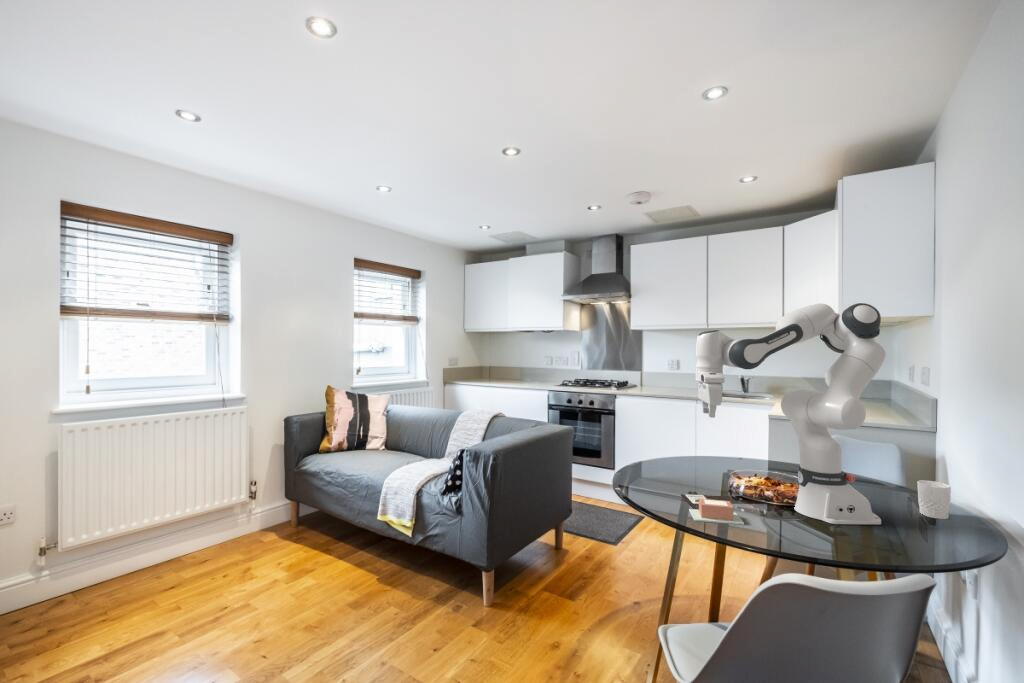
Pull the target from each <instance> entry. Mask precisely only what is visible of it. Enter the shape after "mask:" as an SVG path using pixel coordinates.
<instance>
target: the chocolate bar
mask: <svg viewBox="0 0 1024 683" xmlns="http://www.w3.org/2000/svg"><path fill="white" fill-rule="evenodd" d="M681 496H682V497H683V498H684V499H685V500H686V501H685V500H684V499H683V498H682V497H681ZM680 497H681V498H682V499H683V500H684V501H685V502H686V504H687V505H688V506H689V505H690V506H691V507H692V508H693V509H697V510H699V498H700V499H711V498H710V497H709V496H708V495H707V494H680ZM690 506H689V507H690ZM691 507H690V508H691ZM692 508H691V509H692Z"/></svg>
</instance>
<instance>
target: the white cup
mask: <svg viewBox="0 0 1024 683" xmlns="http://www.w3.org/2000/svg"><path fill="white" fill-rule="evenodd" d="M916 483H917V484H916V486H917V499H918V500H917V501H918V507H919V514H920V513H921V515H922V514H923V515H922V516H925V517H928V518H932V519H937V518H938V519H939V520H947V519H949V513H950V512H949V510H950V505H951V492H952V491H951V489H952V487H951V485H950V484H946V483H943V482H940V481H939V482H938V481H933V480H926V479H925V480H923V479H921V480H918V481H916Z"/></svg>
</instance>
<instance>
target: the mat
mask: <svg viewBox="0 0 1024 683" xmlns="http://www.w3.org/2000/svg"><path fill="white" fill-rule="evenodd" d="M688 511H689V513H690V515H691V517H692V519H693V520H694V522H703V523H716V524H717V523H718V524H729V525H731V524H732V525H742V526H744V525H745V522H744V521H743V519H742V518H741V517H740V516H739V515H738V513H737V512H734V511H733V521H729V520H719V519H709V518H701V515H700V512H699V510H697V509H692V508H689V509H688Z"/></svg>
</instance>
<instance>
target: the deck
mask: <svg viewBox="0 0 1024 683" xmlns="http://www.w3.org/2000/svg"><path fill="white" fill-rule="evenodd" d="M699 512H700V515H701V518H709V519H719V520H729V521H733V512H734V506H733V504H732V503H731V501H730V500H718V499H712V498H710V499H700V498H699Z"/></svg>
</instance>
